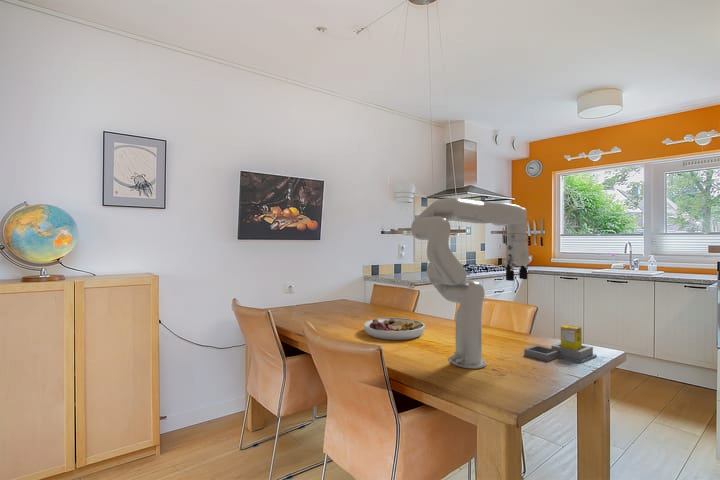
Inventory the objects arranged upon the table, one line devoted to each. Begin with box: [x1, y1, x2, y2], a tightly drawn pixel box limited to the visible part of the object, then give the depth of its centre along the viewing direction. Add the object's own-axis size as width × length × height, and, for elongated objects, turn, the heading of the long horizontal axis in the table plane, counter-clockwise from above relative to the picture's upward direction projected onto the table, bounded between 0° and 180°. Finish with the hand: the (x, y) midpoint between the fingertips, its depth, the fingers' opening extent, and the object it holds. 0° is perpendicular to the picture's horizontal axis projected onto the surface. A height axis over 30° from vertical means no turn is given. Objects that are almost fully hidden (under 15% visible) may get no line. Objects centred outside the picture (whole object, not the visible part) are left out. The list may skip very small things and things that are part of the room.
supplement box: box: [560, 324, 583, 350], centre depth 153 cm, size 6×6×11 cm
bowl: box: [363, 317, 426, 341], centre depth 190 cm, size 30×30×8 cm
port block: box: [550, 342, 598, 364], centre depth 153 cm, size 13×13×4 cm
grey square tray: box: [523, 344, 560, 362], centre depth 153 cm, size 10×10×2 cm
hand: (516, 279), depth 156 cm, fingers open, 9 cm apart
